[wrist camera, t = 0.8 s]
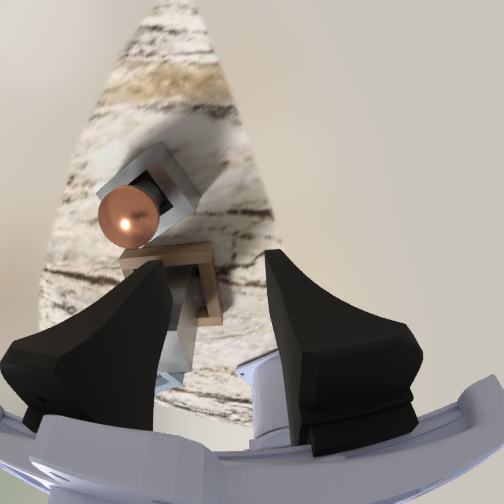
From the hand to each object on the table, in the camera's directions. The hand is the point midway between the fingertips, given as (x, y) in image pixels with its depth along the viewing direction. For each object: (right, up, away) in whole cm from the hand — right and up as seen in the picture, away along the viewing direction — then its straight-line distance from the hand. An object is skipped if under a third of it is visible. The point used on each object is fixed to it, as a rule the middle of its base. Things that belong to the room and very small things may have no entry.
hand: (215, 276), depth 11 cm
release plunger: (-6, +4, +6) cm, 9 cm away
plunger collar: (-6, +6, +8) cm, 12 cm away
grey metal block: (-5, -2, +13) cm, 14 cm away
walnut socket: (-5, -2, +13) cm, 14 cm away
